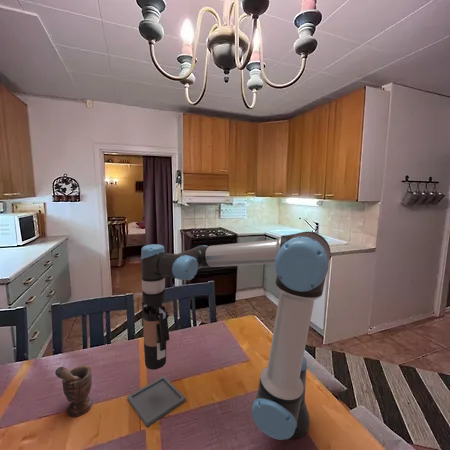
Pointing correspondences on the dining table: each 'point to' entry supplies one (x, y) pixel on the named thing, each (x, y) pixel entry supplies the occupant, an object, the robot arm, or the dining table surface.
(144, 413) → the slate tray
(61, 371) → the mortar and pestle
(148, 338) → the travel mug
